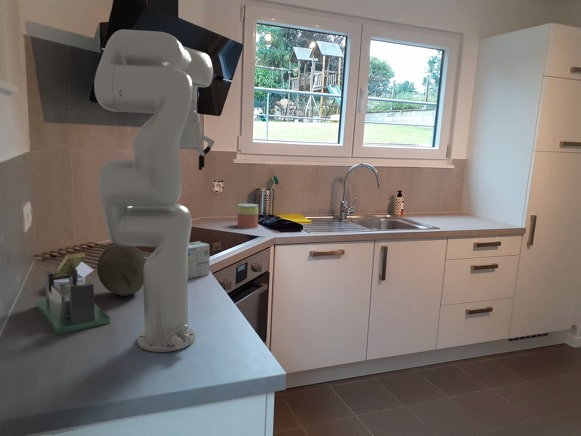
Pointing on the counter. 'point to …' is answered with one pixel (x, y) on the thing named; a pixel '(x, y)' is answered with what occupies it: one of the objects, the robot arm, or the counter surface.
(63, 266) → the retention strap
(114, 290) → the cantaloupe
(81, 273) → the wedge on round base
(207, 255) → the light bulb box
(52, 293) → the cooling block
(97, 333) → the counter surface
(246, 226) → the canned food
